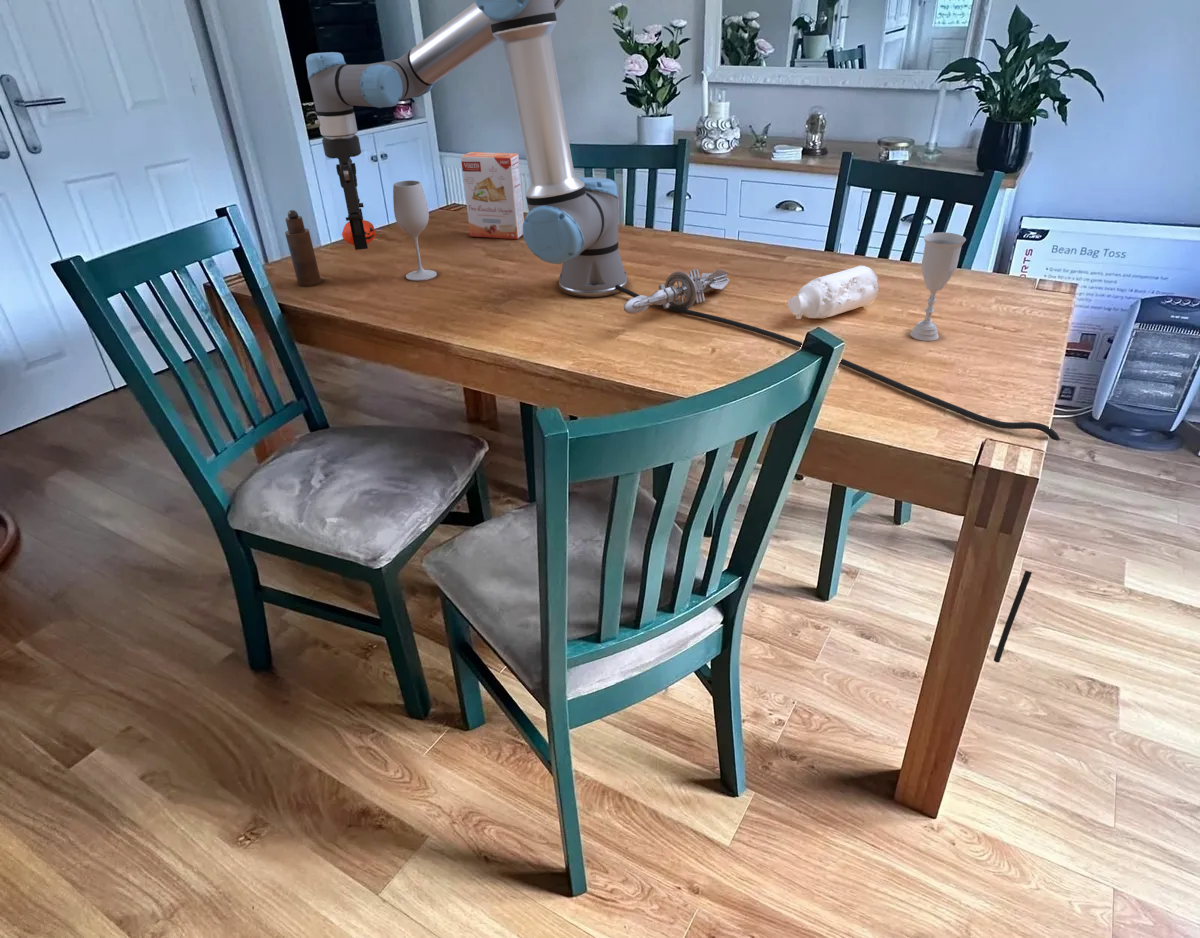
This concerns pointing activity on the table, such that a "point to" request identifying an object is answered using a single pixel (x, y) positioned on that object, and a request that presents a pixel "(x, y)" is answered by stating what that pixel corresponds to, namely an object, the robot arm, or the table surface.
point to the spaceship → (679, 291)
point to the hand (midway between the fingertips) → (361, 243)
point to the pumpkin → (368, 230)
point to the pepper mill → (301, 251)
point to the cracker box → (493, 194)
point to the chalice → (937, 275)
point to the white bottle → (835, 293)
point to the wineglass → (412, 218)
